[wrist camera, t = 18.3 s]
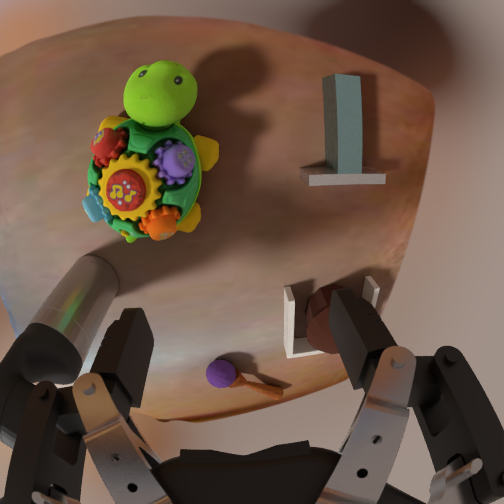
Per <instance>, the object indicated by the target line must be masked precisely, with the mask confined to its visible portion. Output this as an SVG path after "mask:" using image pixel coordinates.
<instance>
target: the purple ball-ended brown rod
mask: <svg viewBox="0 0 504 504" xmlns="http://www.w3.org/2000/svg"><path fill="white" fill-rule="evenodd" d="M206 377H207V379H208V382H209V383H210V384H211V385H213V386H215V387H217V388H225V387H230V388H233V387H239V386H244V385H246V386H248V387H250V388H252V389H254V390H256V391H258V392H260V393H262V394H264V395H267V396H269V397H271V398H273V399H276V400H279V399H280V398H281V397H282V396H283V389H282V388H281V387H276V386H271V385H265V384H260V383H255V382H250V381H247V380H246V379H245V378H244V377H243V375H242V374H241V373H240V372H239V371H238V370H236V369H235V368H234V367H233V365H232V364H231V363H230V362H227V361H225V360H215V361H213V362H212V363H210V364H209V366H208V367H207V370H206Z"/></svg>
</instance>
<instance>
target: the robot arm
mask: <svg viewBox="0 0 504 504" xmlns="http://www.w3.org/2000/svg"><path fill="white" fill-rule="evenodd" d="M118 288H119V282H118V277H117V275H116V273H115V271H114V269H113V268H112V267H111V266H110V265H109V264H108V263H107V262H106V261H105V260H103V259H101V258H99V257H97V256H92V255H86V256H83V257H81V258H80V259H78V260H77V262H76V263H75V264H74V265H73V266H72V268H71V269H70V270H69V271H68V272H67V273H66V275H65V276H64V277H63V278H62V280H61V281H60V282H59V283H58V285H57V286H56V287H55V289H54V290H53V291H52V293H51V294H50V295H49V297H48V298H47V299H46V301H45V302H44V303H43V305H42V306H41V307H40V309H39V310H38V312H37V313H36V315H35V316H34V318H33V319H32V320H31V322H30V323H29V325H28V327H27V328H26V329H25V331H24V332H23V333H22V334H21V335H19V337H18V338H17V339H16V340H15V342H14V343H13V345H12V346H11V348H10V349H9V351H8V352H7V354H6V356H5V357H4V358H3V360H2V361H1V363H0V441H1V442H3V443H4V444H6V445H7V446H9V447H10V448H12V449H13V452H12V456H11V461H10V465H9V470H8V475H7V481H6V487H5V494H4V497H3V498H1V499H0V504H81V503H80V495H81V484H82V476H83V468H84V461H85V455H86V449H88V451H89V453H90V455H91V458H92V460H93V462H94V464H95V466H96V468H97V470H98V472H99V474H100V476H101V478H102V480H103V482H104V483H105V486H106V487H107V489H108V491H109V493H110V494H111V496H112V498H113V500H114V501H115V503H116V504H426V503H424V502H422V501H420V500H418V499H416V498H414V497H412V496H410V495H408V494H406V493H404V492H403V491H401V490H399V489H397V488H395V487H393V486H391V485H390V484H388V483H386V481H387V479H388V477H389V474H390V472H391V469H392V467H393V464H394V461H395V459H396V456H397V453H398V450H399V447H400V444H401V441H402V438H403V434H404V431H405V428H406V425H407V421H408V418H409V409H407V407H413V410H414V412H415V415H416V417H417V420H418V423H419V425H420V428H421V431H422V433H423V436H424V439H425V441H426V444H427V447H428V450H429V453H430V456H431V459H432V462H433V465H434V468H435V471H436V474H435V475H434V476H433V478H432V480H431V484H430V494H431V495H430V499H429V502H428V504H489V503H492V502H494V501H496V500H498V499H500V498H502V497H504V430H503V427H502V425H501V423H500V421H499V419H498V417H497V415H496V413H495V411H494V409H493V407H492V405H491V403H490V401H489V399H488V397H487V395H486V393H485V391H484V390H483V388H482V386H481V384H480V382H479V381H478V379H477V377H476V376H475V374H474V372H473V371H472V369H471V367H470V366H469V364H468V362H467V361H466V359H465V357H464V356H463V354H462V353H461V352H460V351H459V350H458V349H456V348H454V347H452V346H443V347H440V348H439V349H438V350H437V351H436V353H435V355H434V356H414V354H413V353H412V352H411V351H410V350H408V349H407V348H404V347H401V346H398V345H397V344H396V342H395V341H394V339H393V337H392V335H391V334H390V332H389V331H388V329H387V327H386V326H385V324H384V323H383V321H381V318H380V316H379V315H378V314H377V311H376V310H375V308H374V307H373V305H372V304H371V303H370V302H368V301H367V300H365V299H364V298H357V297H356V295H355V293H354V292H353V290H352V289H351V288H344V289H337V290H333V291H332V295H331V303H330V311H329V319H328V320H329V328H330V332H331V334H332V336H333V339H334V341H335V344H336V346H337V349H338V351H339V353H340V356H341V358H342V361H343V363H344V366H345V368H346V371H347V373H348V376H349V378H350V381H351V384H352V386H353V389H354V390H356V389H360V388H363V389H364V392H365V395H364V397H363V399H362V402H361V404H360V407H359V409H358V411H357V414H356V416H355V418H354V421H353V423H352V425H351V428H350V429H349V432H348V434H347V436H346V438H345V439H344V441H343V443H342V445H341V447H340V449H339V451H338V453H337V452H334V451H332V450H328V449H324V448H318V447H310V445H309V441H308V440H307V441H301V442H295V443H288V444H281V445H276V446H273V447H270V448H267V449H264V450H261V451H258V452H255V453H252V454H249V455H236V454H230V453H224V452H219V451H214V450H187V449H181V450H180V456H179V457H175V458H171V459H169V460H166V461H164V462H162V461H161V459H160V458H159V457H158V456H157V455H156V454H155V452H154V451H153V450H152V449H151V447H150V446H149V444H148V443H147V441H146V440H145V438H144V437H143V435H142V434H141V432H140V430H139V429H138V427H137V425H136V424H135V422H134V420H133V418H132V417H131V416H130V414H129V412H130V408H131V407H137V408H140V406H141V400H142V396H143V391H144V386H145V381H146V377H147V372H148V368H149V364H150V359H151V355H152V351H153V347H154V338H153V334H152V331H151V329H150V326H149V324H148V321H147V318H146V316H145V313H144V311H143V309H142V308H125V309H124V310H123V312H122V314H121V317H120V319H119V320H115V321H114V322H113V323H112V324H111V325H110V326H109V327H108V329H107V331H106V333H105V336H104V339H103V340H102V343H101V346H100V347H99V350H98V352H97V355H96V357H95V360H94V362H93V365H92V367H91V370H90V372H89V373H86V374H83V375H81V376H80V377H79V378H78V379H77V377H78V375H79V373H80V370H81V368H82V366H83V363H84V361H85V358H86V356H87V354H88V351H89V349H90V347H91V344H92V342H93V340H94V338H95V336H96V333H97V331H98V329H99V327H100V325H101V323H102V321H103V319H104V317H105V315H106V313H107V311H108V309H109V307H110V305H111V303H112V301H113V299H114V297H115V295H116V293H117V291H118ZM76 379H77V380H76ZM75 380H76V381H75ZM74 381H75V382H74ZM35 382H39V383H38V384H37V385H34V384H32V383H35ZM73 382H74V385H73V386H70V387H64V388H57V387H56V386H55V385H54V383H55V384H62V385H65V384H71V383H73Z"/></svg>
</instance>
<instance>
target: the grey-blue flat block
mask: <svg viewBox="0 0 504 504" xmlns="http://www.w3.org/2000/svg"><path fill="white" fill-rule="evenodd" d="M322 85H323V102H324V124H325V167H306V168H300V178H301V179H302V180H303V181H304V182H305V183H306V184H308V185H309V186H320V185H347V184H385V180H386V174H385V173H383V172H380V171H378V170H376V169H374V168H371V167H362V101H361V83H360V76H352V75H344V74H333V75H330V76H327V77H324V78H322Z"/></svg>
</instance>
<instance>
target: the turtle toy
mask: <svg viewBox="0 0 504 504" xmlns="http://www.w3.org/2000/svg"><path fill="white" fill-rule="evenodd" d="M196 98H197V82H196V80H195V78H194V77H193V75H192V74H191V73H190V72H189V71H188V70H187V69H186V68H185V67H184V66H183V65H181V64H179V63H177V62H172V61H168V60H161V61H158V62H155V63H154V64H151V65H144V66H141V67H139V68H138V69H137V70H136V71H135V72H134V73H133V74H132V75H131V77H130V78H129V80H128V82H127V84H126V87H125V91H124V107H125V110H126V112H127V114H128V115H129V116H130V117H131V118H130V119H128V118H124V117H118V116H108V117H107V118H106V119H104V120H103V122H102V123H101V125H100V128H99V132H98V133H97V134H96V136H95V137H94V139H93V140H92V143H91V151H92V152H93V153H94V155H93V157H92V159H91V162H90V165H89V170H88V183H89V187H88V190H87V197H86V198H84V200H83V202H82V204H83V207H84V209H85V212H86V213H87V215H88V216H89V218H90V219H91V221H93V222H98V221H100V220H102V219H103V218H104V219H105V222H107V223H108V224H109V225H110V226H111V227H112V228H113V229H114V230H116V231H117V232H119V233H121V235H123V236H125V237H126V240H127V242H129V243H132V242H134V241H135V240H136V239H137V238H142V237H151V238H152V239H154V240H157V241H159V240H164V239H167V238H169V237H171V236H172V235H174V234H175V232H176V231H177V230H180V231H184V232H192V231H193V230H194V229H195V228H196V226H197V224H198V223H199V222H200V219H201V212H200V210H201V208H200V206H199V204H198V203H196V202H195V201H196V199H197V196H198V193H199V190H200V186H201V178H202V172H201V171H209V170H210V169H211V168H213V166H214V164H215V163H216V162H217V161H218V158H219V144H218V142H217V141H215V140H213V139H210V138H207V137H203V136H200V135H196V136H195V137H192V135H191V134H190V133H189V132H188V130H187V129H185V128H184V127H183V126H182V125H181V124H180V120H181V119H182V118H184V117H185V116H186V115H187V114H188V113H189V112H190V110H191V109H192V108H193V106H194V104H195V101H196Z"/></svg>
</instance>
